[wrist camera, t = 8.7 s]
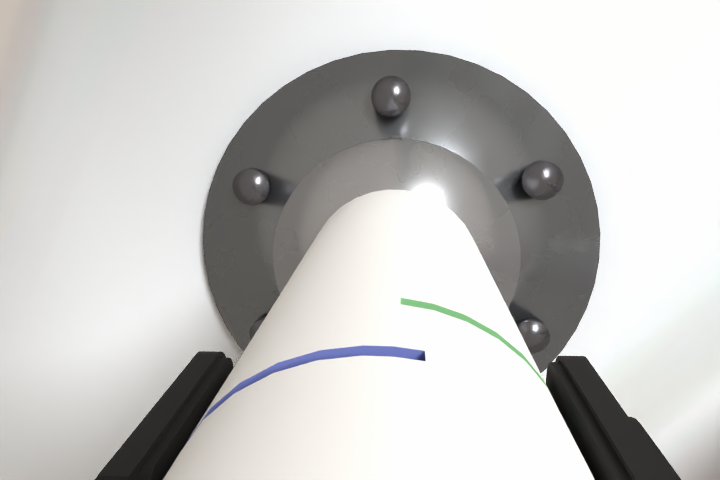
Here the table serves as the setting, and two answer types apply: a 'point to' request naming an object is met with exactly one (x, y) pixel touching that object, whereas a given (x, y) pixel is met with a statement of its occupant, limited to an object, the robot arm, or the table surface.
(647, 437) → the robot arm
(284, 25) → the table surface
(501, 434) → the cylindrical container
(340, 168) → the flange
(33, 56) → the table surface
